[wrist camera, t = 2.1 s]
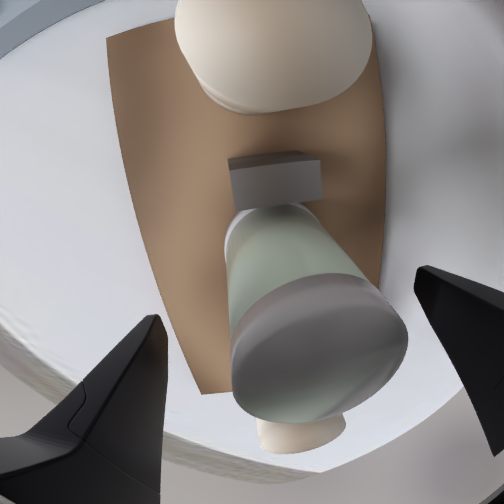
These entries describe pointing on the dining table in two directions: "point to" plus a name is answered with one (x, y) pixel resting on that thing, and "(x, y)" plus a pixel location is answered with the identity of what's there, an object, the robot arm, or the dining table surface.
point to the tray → (32, 18)
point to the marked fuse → (303, 319)
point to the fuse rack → (248, 153)
